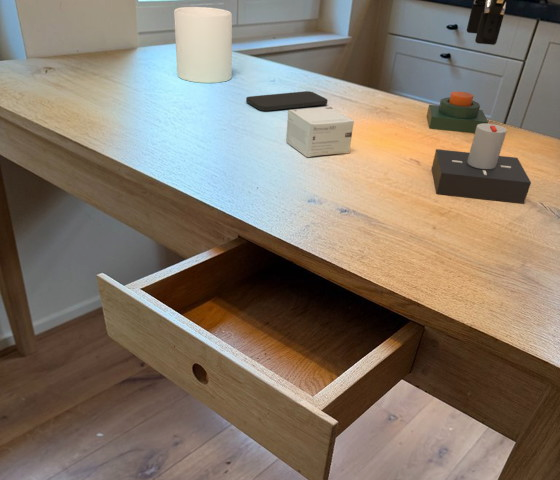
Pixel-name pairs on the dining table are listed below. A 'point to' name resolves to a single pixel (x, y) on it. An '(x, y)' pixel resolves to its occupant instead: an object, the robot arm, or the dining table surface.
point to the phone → (286, 100)
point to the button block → (455, 117)
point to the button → (461, 98)
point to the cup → (203, 44)
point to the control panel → (479, 178)
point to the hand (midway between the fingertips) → (480, 38)
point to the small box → (319, 131)
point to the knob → (486, 146)
